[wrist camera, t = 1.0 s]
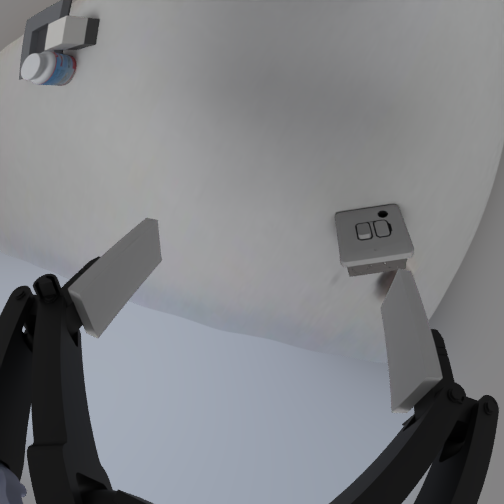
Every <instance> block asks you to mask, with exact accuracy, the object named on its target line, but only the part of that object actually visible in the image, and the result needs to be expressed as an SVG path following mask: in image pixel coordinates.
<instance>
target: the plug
mask: <svg viewBox="0 0 504 504" xmlns="http://www.w3.org/2000/svg"><path fill="white" fill-rule="evenodd" d="M99 21H100V20H99V19H92V18H85V17H76V16H65V17H63V18H60V19H58V20H56V21H54V22H52V23H50V24H49V25H48V31H47V37H46V43H45V50H77V49H81V48H84V47H88V46H91V45H95V44H96V39H97V33H98V27H99Z"/></svg>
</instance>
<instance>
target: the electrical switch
mask: <svg viewBox="0 0 504 504" xmlns="http://www.w3.org/2000/svg"><path fill="white" fill-rule="evenodd" d="M335 220H336V228H337V236H338V244H339V253H340V263H341V265H342V266H343V267H347V268H348V272H349V275H350V277H351V276H358V275H365V274H372V273H379V272H385V271H392V270H398V269H405V268H406V261H407V258H411V257H412V256H413V254H414V247H413V244H412V241H411V238H410V236H409V233H408V230H407V227H406V225H405V222H404V219H403V217H402V214H401V212H400V209H399V207H398V206H397V205H394V204H392V205H386V206H379V207H372V208H366V209H359V210H353V211H347V212H340V213H337V214H336V216H335ZM385 262H386V265H385V264H384V263H385ZM371 265H372V266H371ZM368 267H369V268H368ZM353 270H354V271H353Z"/></svg>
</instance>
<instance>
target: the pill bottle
mask: <svg viewBox="0 0 504 504" xmlns="http://www.w3.org/2000/svg"><path fill="white" fill-rule="evenodd" d="M75 70H76V61H75V59H74V58H73V57H72V56H69V55H65V54H60V53H56V52H51V51H44V52H42V53H40V54H39V53H33V54H31V55H29V56H28V57H27V58H26V59H25V61H24V63H23V65H22V68H21V76H22V78H23V79H25V80H30V81H31V82H32V83H33V84H38V85H58V86H62V85H65V84H67V83H69V82H70V81H71V80H72V78H73V76H74V74H75Z"/></svg>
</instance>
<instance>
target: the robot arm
mask: <svg viewBox="0 0 504 504" xmlns="http://www.w3.org/2000/svg"><path fill="white" fill-rule="evenodd" d="M161 261H162V259H161V250H160V240H159V230H158V220H155V219H150V218H146V219H145V220H143V221H142V222H141V223H140V224H138V225H137V226H136V227H135V228H134V229H132V230H131V231H130V232H129V233H128V234H127V235H125V236H124V237H123V238H122V239H121V240H120V241H118V242H117V243H116V244H115V245H114V246H113V247H112V248H110V249H109V250H108V251H107V252H106V253H105V254H104V255H103V256H102V257H97V258H95V259H93V260H91V261H89V262H88V263H87V264H86V265H85V266H84V267H83V268H82V269H81V270H80V271H79V272H78V273H76V274H75V275H74V276H73V277H72V278H71V279H70V280H69V281H68V282H67V283H66V284H65V285H64V286H63V287H62V288H61V287H60V284H59V281H58V279H57V277H56V276H55V275H53V274H46V275H43V276H41V277H39V278H38V279H37V280H36V281H35V282H34V284H33V288H34V290H35V292H36V294H37V295H33V294H32V292H31V290H30V288H29V287H28V286H20V287H18V288H16V289H15V290H14V291H13V292H12V294H11V295H10V297H9V299H8V301H7V303H6V305H5V307H4V309H3V311H2V313H1V315H0V504H23V502H22V498H21V497H25V496H26V493H27V492H26V488H25V486H24V485H23V484H21V483H20V479H21V475H22V470H23V465H24V455H25V444H26V434H27V426H28V420H29V413H30V407H31V406H32V423H33V424H32V425H33V436H34V443H33V445H31V446H29V447H28V449H27V458H28V465H29V472H30V477H31V482H32V487H33V491H34V496H35V500H36V503H37V504H153V503H151V502H149V501H146V500H144V499H142V498H140V497H137V496H134V495H131V494H128V493H126V492H123V491H120V490H118V491H114V490H112V487H111V484H110V481H109V478H108V476H107V474H106V472H105V470H104V469H103V467H102V466H101V464H100V461H99V458H98V454H97V450H96V446H95V441H94V437H93V432H92V427H91V423H90V417H89V411H88V405H87V398H86V391H85V383H84V374H83V362H82V348H81V333H80V330H79V328H80V327H81V326H82V325H83V326H84V329H85V330H86V333H88V334H90V335H92V336H94V337H96V338H99V337H100V335H101V334H102V333H103V331H104V330H105V329H106V328H107V327H108V325H109V324H110V323H111V321H112V320H113V319H114V318H115V316H116V315H117V314H118V312H119V311H120V310H121V309H122V308H123V306H124V305H125V304H126V303H127V301H128V300H129V299H130V298H131V297H132V295H133V294H134V293H135V292H136V290H137V289H138V288H139V287H140V286H141V284H142V283H143V282H144V281H145V280H146V279H147V277H148V276H149V275H150V274H151V273H152V271H153V270H154V269H155V268H156V267H157V266H158V264H159V263H160V262H161ZM381 313H382V319H383V326H384V333H385V340H386V348H387V357H388V366H389V377H390V390H391V408H392V413H407V412H408V411H409V410H411V408H413V407H414V411H415V414H414V415H413V416H411V417H410V418H409V419H408V420H407V421H406V422H404V423H403V424H402V425H405V426H404V427H403V428H402V429H401V431H400V432H399V433H398V434H397V436H396V437H395V438H394V439H393V440H392V442H391V443H390V444H389V445H388V446H387V448H386V449H385V450H384V451H383V452H382V453H381V454H380V455H379V457H378V458H377V459H376V460H375V461H374V462H373V463H372V464H371V465H370V466H369V467H368V468H367V469H366V470H365V471H364V472H363V474H361V475H360V476H359V477H358V478H357V479H356V480H355V481H354V482H353V483H352V484H351V485H350V486H349V487H348V488H347V489H345V490H344V491H343V492H342V493H341V494H340V495H339V496H338V497H336V498H335V499H334V500H333V501H332V502H331V503H329V504H401V503H402V502H403V501H404V500H405V498H407V496H408V495H409V494H410V492H411V491H412V490H413V489H414V487H415V486H416V485H417V484H418V482H419V480H420V479H421V478H422V476H423V475H424V474H425V472H426V471H427V470H428V468H429V467H430V465H431V464H432V465H431V468H430V470H429V472H428V475H427V477H426V479H425V481H424V484H423V486H422V488H421V490H420V492H419V494H418V496H417V498H416V500H415V502H414V504H477V502H478V499H479V496H480V493H481V490H482V487H483V484H484V481H485V477H486V474H487V470H488V466H489V462H490V458H491V454H492V449H493V445H494V439H495V434H496V428H497V420H498V413H499V408H498V405H497V402H496V400H495V399H494V398H493V397H492V396H489V395H485V396H483V397H482V398H481V399H479V400H478V401H477V400H474V399H471V398H468V397H466V394H465V391H464V389H463V388H462V387H461V386H460V385H459V384H457V383H455V382H454V378H453V374H452V370H451V366H450V362H449V358H448V356H447V355H448V354H447V351H446V349H445V344H444V340H443V338H442V337H441V335H440V333H439V332H438V330H435V329H430V325H429V322H428V319H427V316H426V312H425V309H424V306H423V303H422V300H421V297H420V294H419V291H418V289H417V286H416V283H415V280H414V278H413V275H412V272H411V271H408V270H404V269H398V271H397V273H396V276H395V278H394V280H393V282H392V285H391V287H390V289H389V291H388V293H387V295H386V298H385V300H384V302H383V304H382V306H381ZM23 326H24V327H25V328H26V330H25V332H24V333H23V332H22V328H23ZM432 462H433V463H432Z"/></svg>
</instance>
